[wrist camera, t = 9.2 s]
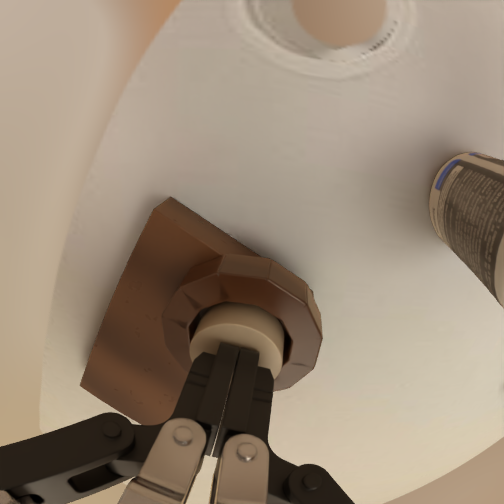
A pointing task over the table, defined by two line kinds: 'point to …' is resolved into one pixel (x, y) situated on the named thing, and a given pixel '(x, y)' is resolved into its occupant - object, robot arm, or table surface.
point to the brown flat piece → (189, 312)
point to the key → (241, 333)
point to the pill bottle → (472, 215)
